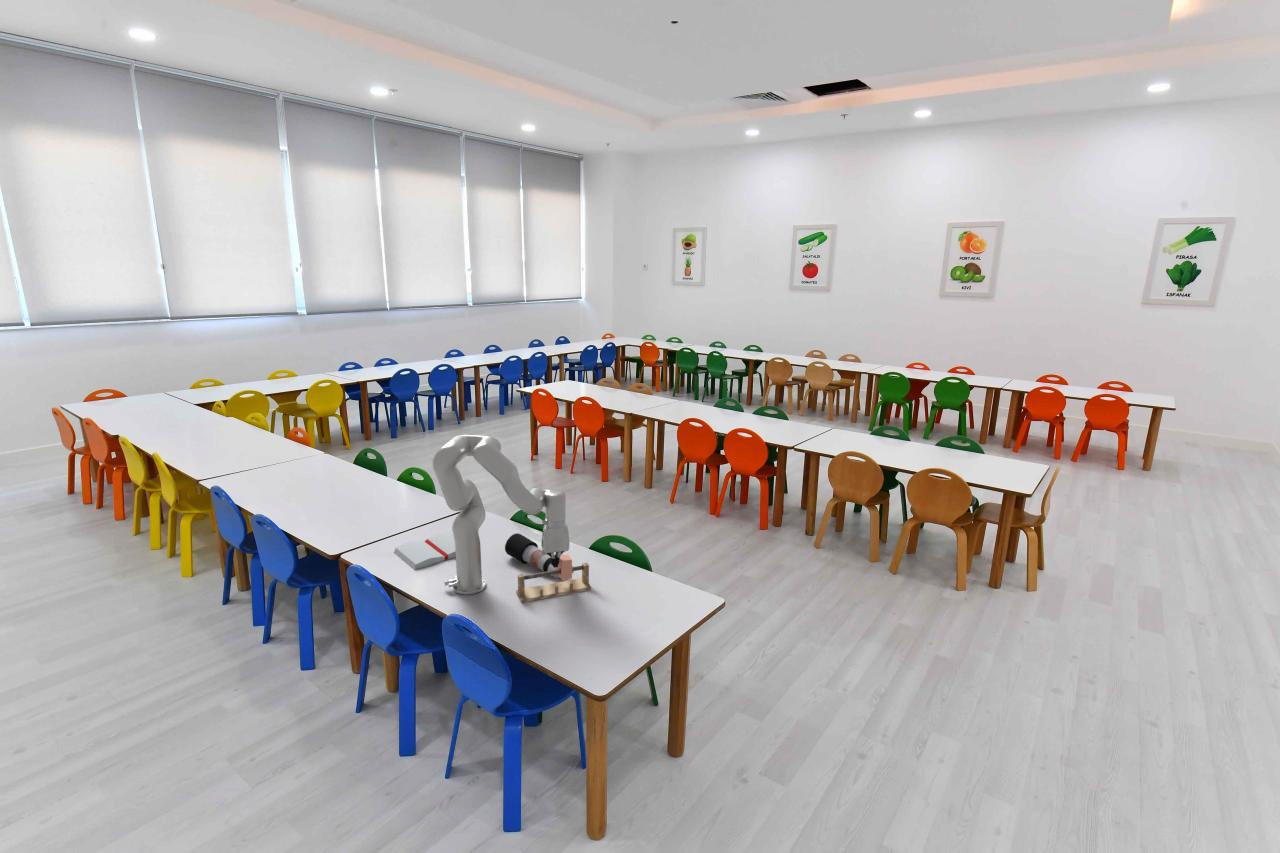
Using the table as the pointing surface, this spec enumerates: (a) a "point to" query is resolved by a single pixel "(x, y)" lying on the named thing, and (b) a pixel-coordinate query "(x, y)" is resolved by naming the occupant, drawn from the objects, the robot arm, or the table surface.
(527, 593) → the wooden test tube rack
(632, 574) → the table surface
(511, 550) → the black and grey cylinder
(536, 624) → the table surface
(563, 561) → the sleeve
